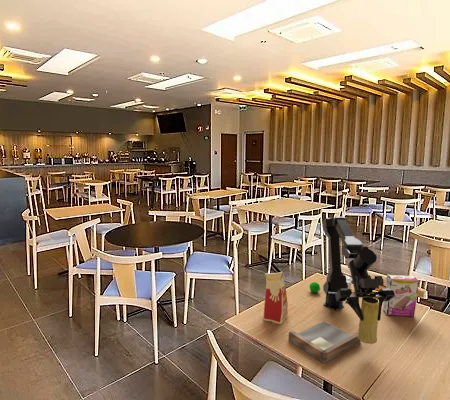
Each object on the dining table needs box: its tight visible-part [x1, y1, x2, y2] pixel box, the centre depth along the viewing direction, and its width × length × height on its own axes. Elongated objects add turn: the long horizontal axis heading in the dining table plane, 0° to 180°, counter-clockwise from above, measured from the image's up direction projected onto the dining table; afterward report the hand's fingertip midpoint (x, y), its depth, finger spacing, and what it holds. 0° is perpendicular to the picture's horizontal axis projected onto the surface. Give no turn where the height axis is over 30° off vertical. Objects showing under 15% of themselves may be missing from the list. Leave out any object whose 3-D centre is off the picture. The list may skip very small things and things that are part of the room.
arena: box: [288, 320, 361, 364], centre depth 121 cm, size 16×20×4 cm
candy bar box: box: [382, 274, 420, 318], centre depth 139 cm, size 11×5×16 cm, turn 84°
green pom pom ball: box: [309, 281, 321, 293], centre depth 160 cm, size 5×5×5 cm
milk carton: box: [262, 271, 289, 325], centre depth 136 cm, size 9×9×20 cm
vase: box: [357, 296, 379, 345], centre depth 112 cm, size 6×6×14 cm
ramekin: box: [344, 274, 352, 289], centre depth 165 cm, size 11×11×5 cm
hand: (370, 320), depth 110 cm, fingers closed on vase, 5 cm apart
